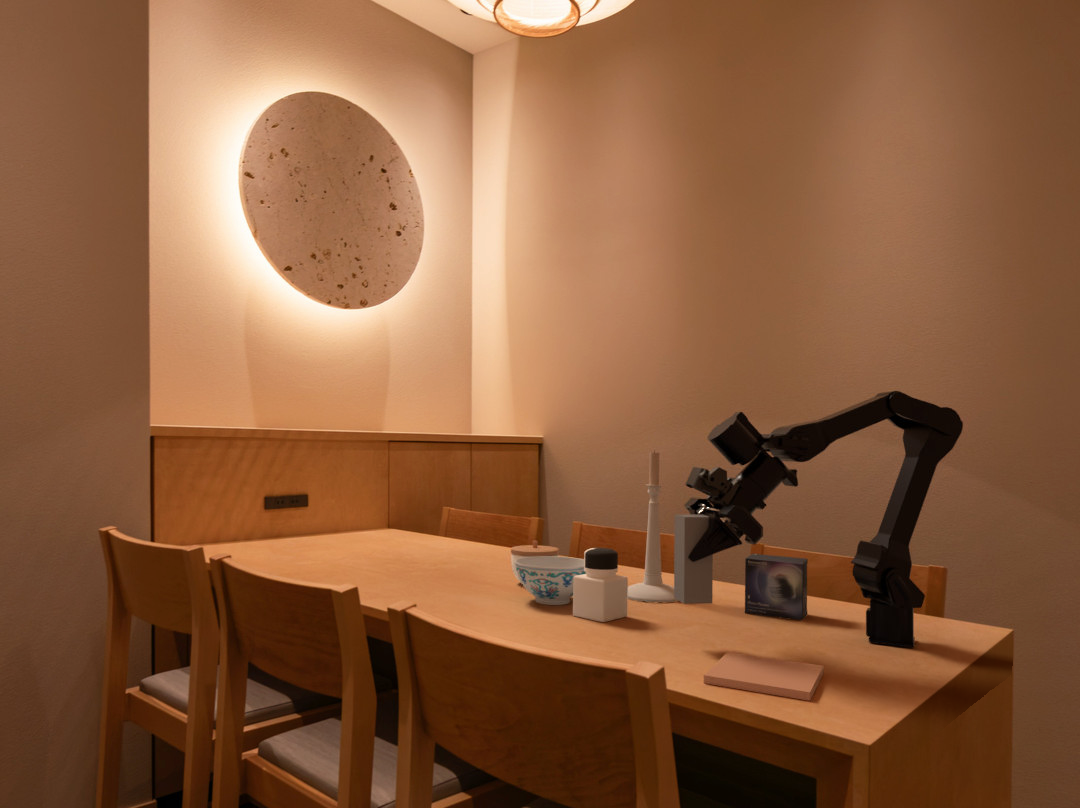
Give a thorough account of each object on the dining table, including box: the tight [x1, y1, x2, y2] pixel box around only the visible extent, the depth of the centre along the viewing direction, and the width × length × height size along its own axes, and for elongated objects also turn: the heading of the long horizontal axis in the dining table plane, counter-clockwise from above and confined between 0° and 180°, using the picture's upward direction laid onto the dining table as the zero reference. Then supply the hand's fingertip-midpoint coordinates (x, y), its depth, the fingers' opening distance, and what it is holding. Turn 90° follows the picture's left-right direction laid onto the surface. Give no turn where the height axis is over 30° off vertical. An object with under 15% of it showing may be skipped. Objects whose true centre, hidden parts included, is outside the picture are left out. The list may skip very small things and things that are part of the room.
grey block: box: [673, 513, 714, 605], centre depth 115 cm, size 4×4×13 cm
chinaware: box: [515, 555, 586, 606], centre depth 146 cm, size 15×15×8 cm
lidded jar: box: [510, 540, 560, 585], centre depth 165 cm, size 11×11×9 cm
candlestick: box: [627, 450, 678, 603], centre depth 154 cm, size 13×13×30 cm
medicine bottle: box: [572, 547, 629, 623], centre depth 134 cm, size 7×7×12 cm
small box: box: [744, 553, 809, 621], centre depth 139 cm, size 11×6×10 cm, turn 62°
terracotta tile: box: [703, 651, 824, 702], centre depth 99 cm, size 13×13×1 cm
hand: (684, 557), depth 115 cm, fingers closed on grey block, 4 cm apart
